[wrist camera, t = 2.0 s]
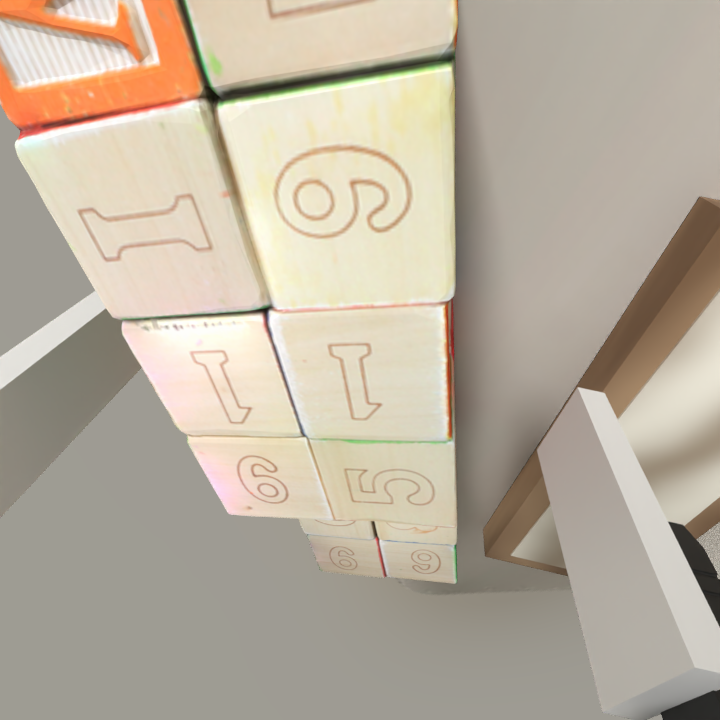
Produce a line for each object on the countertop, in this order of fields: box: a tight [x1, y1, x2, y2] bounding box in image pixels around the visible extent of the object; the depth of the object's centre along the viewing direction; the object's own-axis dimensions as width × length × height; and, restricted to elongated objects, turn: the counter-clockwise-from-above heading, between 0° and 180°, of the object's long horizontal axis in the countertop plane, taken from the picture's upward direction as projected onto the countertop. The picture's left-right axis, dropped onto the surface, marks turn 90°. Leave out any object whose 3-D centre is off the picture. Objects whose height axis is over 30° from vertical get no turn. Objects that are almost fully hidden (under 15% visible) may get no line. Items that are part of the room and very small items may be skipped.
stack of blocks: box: [0, 0, 458, 584], centre depth 14 cm, size 21×6×12 cm, turn 8°
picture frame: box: [483, 197, 720, 576], centre depth 22 cm, size 10×24×2 cm, turn 171°
